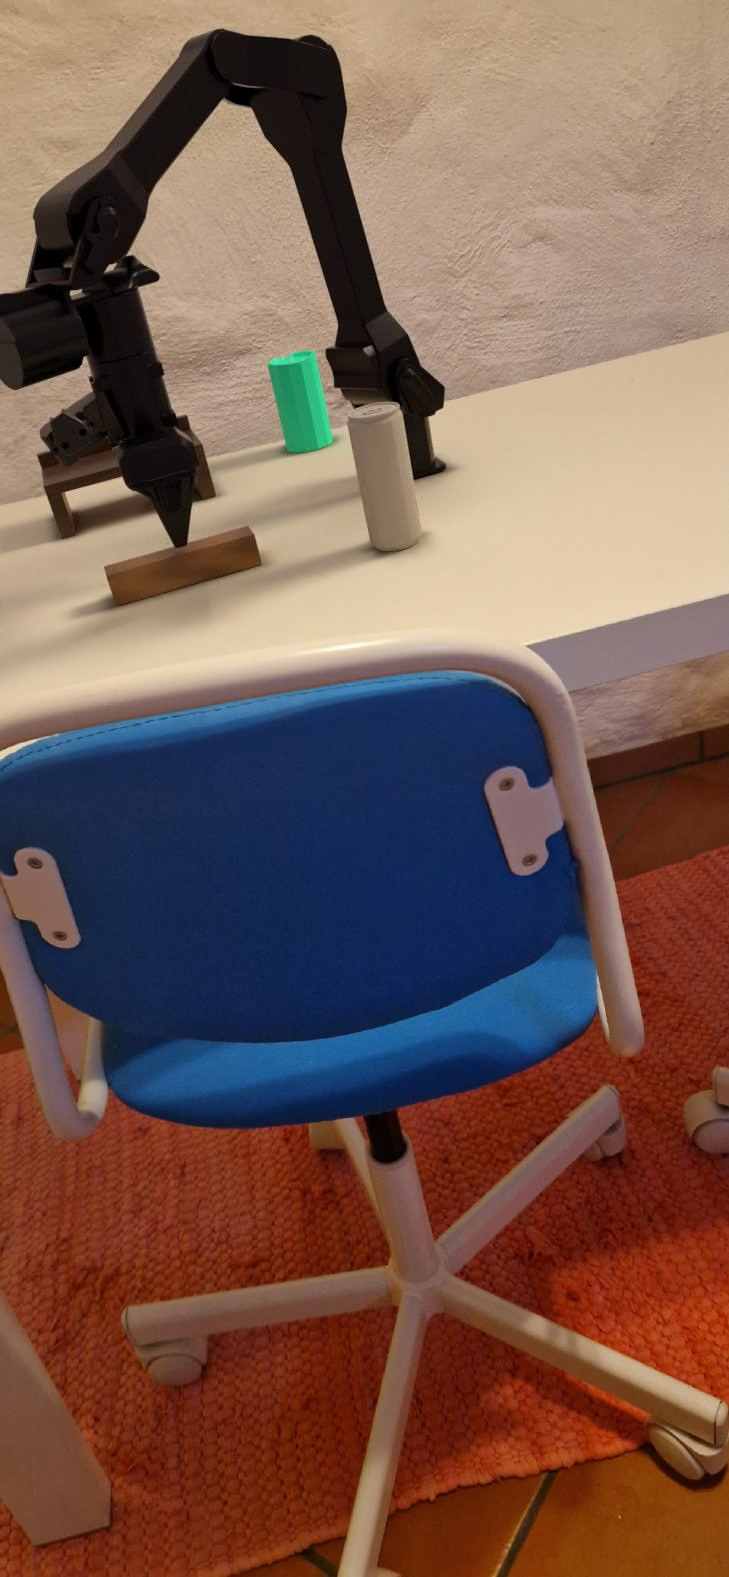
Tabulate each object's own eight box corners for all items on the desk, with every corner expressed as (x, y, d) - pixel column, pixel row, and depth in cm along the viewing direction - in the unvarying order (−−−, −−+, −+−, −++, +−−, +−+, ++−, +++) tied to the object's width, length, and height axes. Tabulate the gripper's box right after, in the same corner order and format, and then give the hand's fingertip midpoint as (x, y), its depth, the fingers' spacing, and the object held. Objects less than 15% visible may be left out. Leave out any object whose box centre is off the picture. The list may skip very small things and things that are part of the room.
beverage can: (368, 540, 99) (343, 409, 93) (419, 529, 99) (397, 397, 93) (373, 557, 95) (347, 422, 89) (426, 546, 95) (404, 409, 89)
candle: (335, 434, 134) (315, 334, 128) (330, 447, 129) (309, 344, 123) (290, 442, 135) (267, 343, 129) (282, 455, 131) (259, 354, 124)
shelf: (216, 496, 121) (198, 430, 117) (61, 538, 119) (38, 472, 115) (203, 476, 130) (186, 414, 126) (58, 515, 127) (36, 453, 123)
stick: (256, 555, 102) (248, 525, 100) (262, 564, 99) (254, 533, 98) (113, 596, 100) (103, 566, 98) (116, 606, 97) (106, 576, 96)
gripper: (25, 363, 95) (82, 529, 104) (28, 397, 80) (95, 589, 88) (145, 333, 97) (192, 498, 105) (171, 360, 81) (224, 552, 90)
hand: (174, 532), depth 97 cm, fingers open, 9 cm apart
